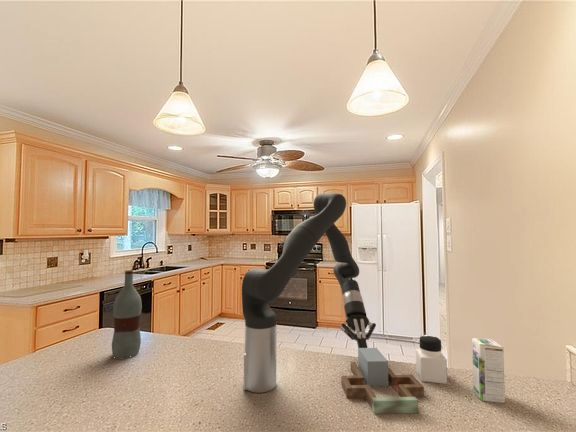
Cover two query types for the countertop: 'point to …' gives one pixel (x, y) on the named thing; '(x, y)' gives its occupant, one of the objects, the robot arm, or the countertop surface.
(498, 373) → the syrup box
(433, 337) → the medicine bottle
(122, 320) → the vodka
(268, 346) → the robot arm
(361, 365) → the slate block
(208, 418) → the countertop surface
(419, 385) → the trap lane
